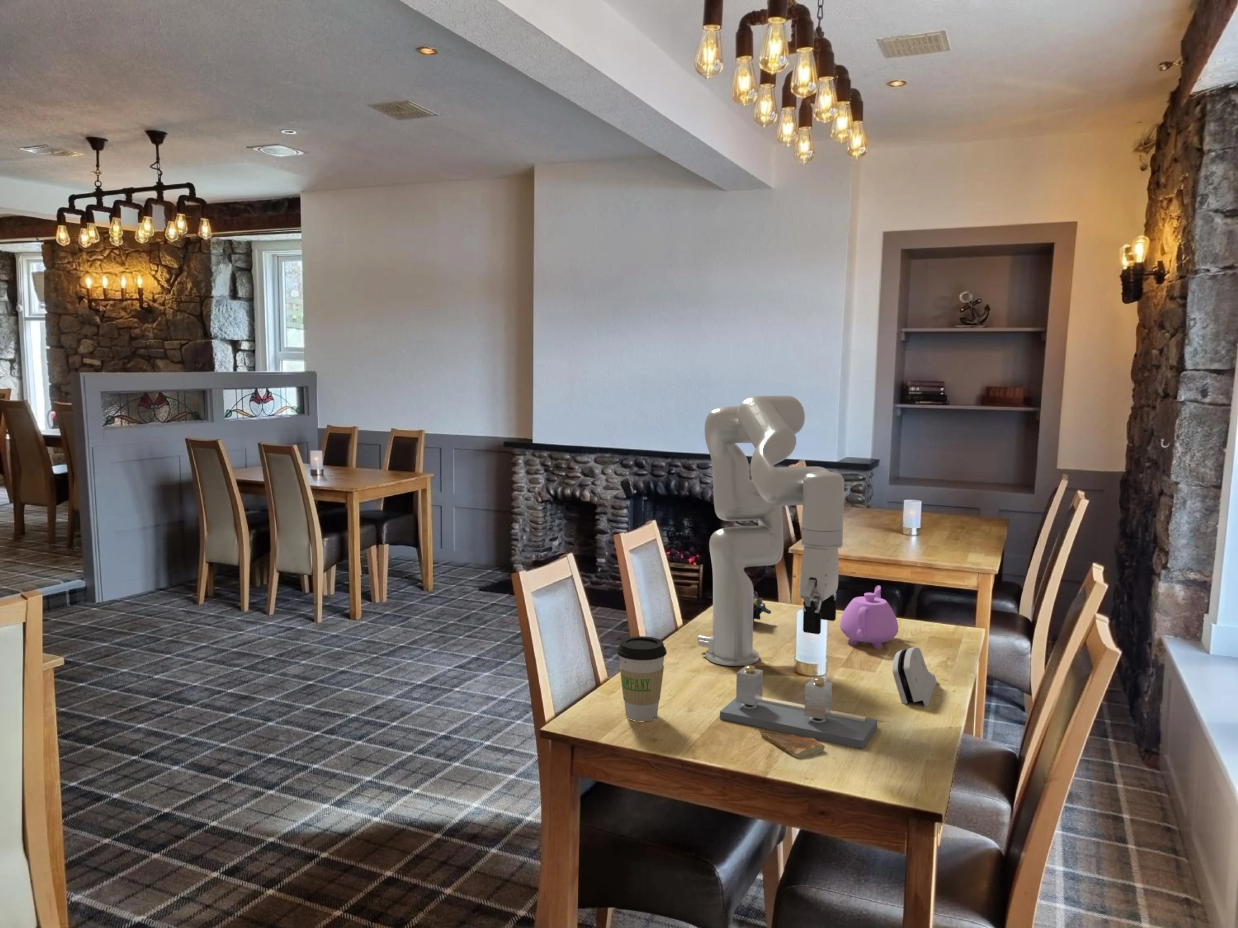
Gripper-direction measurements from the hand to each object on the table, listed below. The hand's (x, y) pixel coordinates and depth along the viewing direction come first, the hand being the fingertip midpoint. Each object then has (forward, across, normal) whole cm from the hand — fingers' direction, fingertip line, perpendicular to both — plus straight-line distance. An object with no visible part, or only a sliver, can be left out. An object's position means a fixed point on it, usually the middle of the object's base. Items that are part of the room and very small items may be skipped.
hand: (819, 626), depth 167 cm
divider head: (+18, 0, 0) cm, 18 cm away
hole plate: (+20, 0, -4) cm, 20 cm away
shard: (+21, +12, -1) cm, 24 cm away
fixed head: (+18, 0, -14) cm, 23 cm away
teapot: (+20, -60, -5) cm, 63 cm away
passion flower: (+21, -58, -38) cm, 72 cm away
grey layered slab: (+20, -29, +12) cm, 37 cm away
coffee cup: (+20, +12, -32) cm, 40 cm away
